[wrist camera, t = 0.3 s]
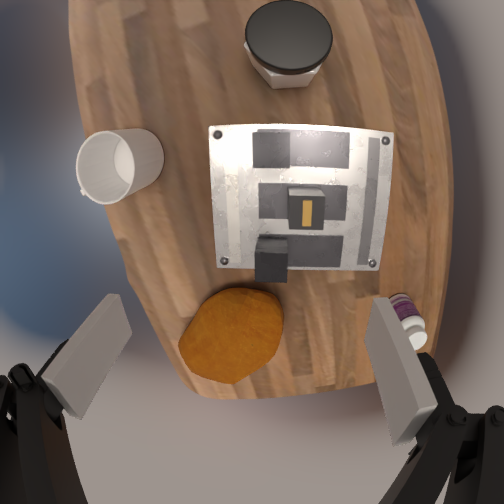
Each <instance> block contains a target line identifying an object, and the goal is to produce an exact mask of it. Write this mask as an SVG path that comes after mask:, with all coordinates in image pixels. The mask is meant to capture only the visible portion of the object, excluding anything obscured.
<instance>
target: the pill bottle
mask: <svg viewBox="0 0 504 504" xmlns="http://www.w3.org/2000/svg"><path fill="white" fill-rule="evenodd" d="M389 301H390V303H391V304H392V306H393V308H394V310H395V312H396V314H397V316H398V318H399V320H400V322H401V324H402V326H403V328H404V330H405V332H406V334H407V336H408V338H409V340H410V342H411V344H412V346H413V348H414V350H417V349H419V348H421V347H422V346H423V345H424V344H425V342H426V340H427V334H426V332H425V330H424V328H425V323H424V320H423V318H422V317H421V315H420V314H419V312H418V310H417V309H416V307H415V305H414V304H413V302H412V301H411V299H410V298H409V296H407V295H405V294H397V295H395V296H393V297H391V298H390V299H389Z"/></svg>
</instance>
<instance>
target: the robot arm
mask: <svg viewBox="0 0 504 504" xmlns="http://www.w3.org/2000/svg"><path fill="white" fill-rule="evenodd" d="M131 335H132V331H131V328H130V326H129V323H128V320H127V317H126V314H125V311H124V308H123V305H122V302H121V298H120V296H119V294H108V295H107V296H106V297H105V298H104V299H103V300H102V301H101V303H100V304H99V305H98V306H97V307H96V308H95V309H94V311H93V312H92V313H91V314H90V315H89V316H88V318H87V319H86V320H85V321H84V322H83V323H82V325H81V326H80V327H79V329H78V330H77V331H76V332H75V333H74V334H73V336H72V337H71V338H70V339H67V340H66V341H64V342H63V343H62V344H60V345H59V347H58V348H57V349H56V350H55V353H53V354H52V356H51V358H49V359H48V361H47V362H46V363H45V364H44V366H43V367H42V368H41V370H40V371H39V372H38V374H37V375H36V376H34V374H33V373H32V371H31V369H30V368H29V366H28V365H27V364H24V363H21V364H17V365H15V366H14V367H13V368H11V370H10V372H9V373H8V377H9V379H10V380H11V382H12V383H10V381H9V380H8V378H7V377H6V376H5V375H0V504H88V502H87V500H86V497H85V494H84V491H83V488H82V485H81V483H80V479H79V476H78V473H77V470H76V466H75V462H74V459H73V455H72V451H71V448H70V443H69V439H68V434H67V430H66V424H65V419H64V416H63V414H62V410H63V409H65V410H66V411H67V413H68V414H69V415H70V416H72V417H75V418H77V419H80V420H82V418H83V416H84V415H85V413H86V411H87V409H88V407H89V405H90V404H91V402H92V400H93V398H94V396H95V395H96V393H97V391H98V390H99V388H100V386H101V384H102V383H103V381H104V379H105V378H106V376H107V374H108V373H109V371H110V369H111V367H112V366H113V364H114V362H115V361H116V359H117V357H118V356H119V354H120V353H121V351H122V349H123V348H124V346H125V344H126V343H127V341H128V340H129V338H130V336H131ZM364 342H365V345H366V348H367V351H368V354H369V358H370V361H371V364H372V368H373V371H374V374H375V378H376V381H377V385H378V389H379V392H380V396H381V400H382V403H383V407H384V411H385V415H386V419H387V423H388V427H389V431H390V436H391V440H392V445H393V446H398V445H403V444H407V443H410V442H411V441H412V439H413V438H414V437H415V436H416V440H417V444H416V446H415V447H414V448H413V449H412V450H411V452H409V455H410V456H409V458H408V459H407V461H406V463H405V465H404V466H403V468H402V470H401V471H400V473H399V474H398V476H397V477H396V479H395V481H394V482H393V484H392V485H391V487H390V488H389V490H388V491H387V493H386V494H385V495H384V497H383V498H382V500H381V501H380V502H379V504H435V502H436V500H437V498H438V496H439V494H440V492H441V491H442V488H443V486H444V485H445V482H446V480H447V478H448V476H449V474H450V472H451V474H450V479H449V483H448V487H447V492H446V496H445V499H444V503H443V504H504V408H503V407H501V406H498V405H496V406H492V407H490V408H489V409H488V410H487V411H486V413H485V414H471V413H468V412H467V411H466V410H465V409H464V408H463V407H461V406H459V405H455V403H454V401H453V399H452V397H451V395H450V392H449V390H448V388H447V386H446V384H445V381H444V379H443V378H442V375H441V373H440V371H439V370H438V367H437V365H436V363H435V361H434V359H433V358H432V357H431V356H430V355H429V354H427V353H426V352H424V353H418V354H416V352H415V350H414V348H413V346H412V344H411V342H410V340H409V338H408V336H407V334H406V332H405V330H404V328H403V326H402V324H401V322H400V320H399V318H398V316H397V314H396V312H395V310H394V308H393V306H392V304H391V303H390V301H389V299H388V297H386V298H374V299H373V304H372V309H371V313H370V318H369V322H368V326H367V331H366V335H365V339H364ZM7 412H8V413H9V414H10V415H11V420H9V419H8V418H7V417H6V416H7Z"/></svg>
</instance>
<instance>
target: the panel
mask: <svg viewBox="0 0 504 504" xmlns="http://www.w3.org/2000/svg"><path fill="white" fill-rule="evenodd" d="M208 127H209V151H210V172H211V190H212V207H213V222H214V236H215V249H216V261H217V268H246V269H255V282H284V283H287V270H288V269H292V270H379V264H380V259H381V253H382V247H383V241H384V235H385V228H386V220H387V213H388V204H389V195H390V185H391V173H392V158H393V136H394V133H391V132H383V131H376V130H367V129H358V128H348V127H336V126H321V125H298V124H243V125H221V126H208ZM288 187H319V188H320V189H321V191H322V192H323V194H324V195H325V213H324V228H323V230H290V229H289V225H288Z"/></svg>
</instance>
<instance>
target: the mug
mask: <svg viewBox="0 0 504 504" xmlns="http://www.w3.org/2000/svg"><path fill="white" fill-rule="evenodd" d="M163 163H164V153H163V149H162V146H161V143H160V141H159V140H158V139H157V137H156V136H155V135H154V134H153V133H151V132H149V131H148V130H145V129H138V128H135V129H121V130H109V131H101V132H97V133H95V134H93V135H91V136H90V137H89V138H87V139H86V140H85V142H84V143H83V144H82V146H81V148H80V150H79V152H78V155H77V160H76V174H77V179H78V182H79V185H80V187H81V188H82V190H80V192H81V193H82V195H83V196H85V195H87V196H88V197H89V198H90V199H91V200H93V201H95V202H97V203H99V204H105V205H106V204H113V203H116V202H118V201H120V200H121V199H123V198H125V197H127V196H129V195H131V194H133V193H135V192H137V191H139V190H141V189H143V188H145V187H147V186H148V185H150V184H152V183H153V182H154V181H155V180H156V179H157V178H158V176H159V175H160V173H161V171H162V167H163Z"/></svg>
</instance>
